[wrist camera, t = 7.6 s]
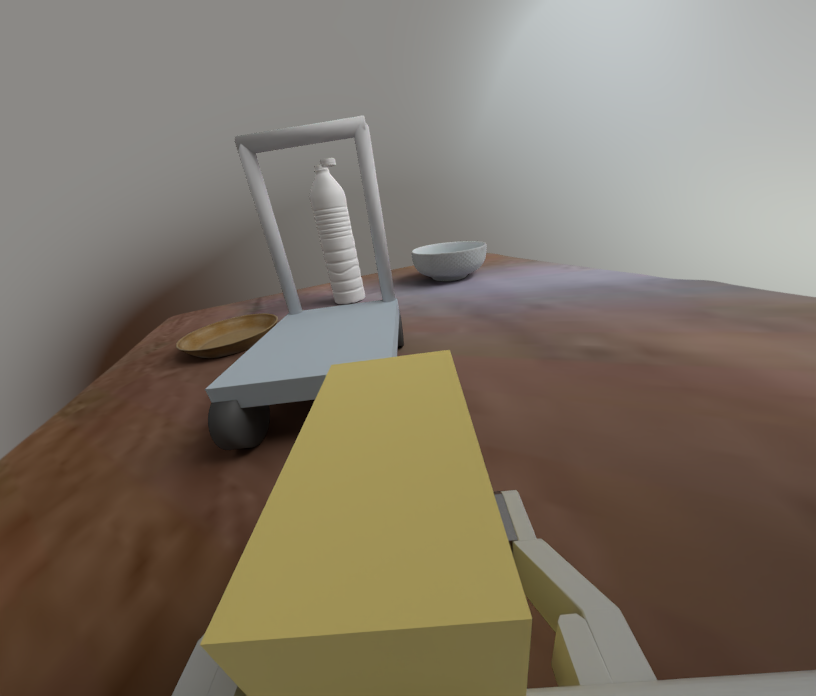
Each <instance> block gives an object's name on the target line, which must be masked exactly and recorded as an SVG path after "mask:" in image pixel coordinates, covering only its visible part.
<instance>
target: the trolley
mask: <svg viewBox="0 0 816 696" xmlns="http://www.w3.org/2000/svg"><path fill="white" fill-rule="evenodd" d="M353 137H354V138H355V144H356V150H357V156H358V161H359V167H360V173H361V179H362V184H363V189H364V196H365V202H366V207H367V213H368V218H369V224H370V230H371V235H372V241H373V248H374V253H375V259H376V265H377V270H378V276H379V282H380V288H381V294H382V299H383V300H379V301H371V302H364V303H356V304H349V305H341V306H333V307H326V308H318V309H311V310H303V311H302V308H301V304H300V301H299V298H298V294H297V291H296V287H295V284H294V281H293V277H292V274H291V271H290V267H289V264H288V261H287V258H286V254H285V251H284V247H283V244H282V241H281V237H280V234H279V230H278V227H277V224H276V220H275V217H274V214H273V210H272V207H271V203H270V200H269V197H268V194H267V190H266V187H265V183H264V180H263V177H262V173H261V170H260V167H259V163H258V160H257V156H256V153H260V152H266V151H272V150H278V149H285V148H291V147H297V146H303V145H310V144H316V143H322V142H328V141H335V140H341V139H347V138H353ZM235 143H236V147H237V150H238V153H239V157H240V160H241V163H242V166H243V169H244V172H245V175H246V179H247V182H248V184H249V188H250V191H251V194H252V197H253V201H254V204H255V207H256V210H257V213H258V216H259V219H260V223H261V226H262V229H263V232H264V235H265V238H266V241H267V244H268V248H269V251H270V254H271V257H272V260H273V263H274V267H275V270H276V273H277V276H278V279H279V282H280V285H281V289H282V292H283V295H284V298H285V301H286V304H287V307H288V311H289V313H288V314H287V315H286V316H285V317H284V318H283V319H282V320H281V321H280V322H279V323H277V324H276V325H275V326H274V327H273V328H272V329H271V330H270V331H269V332H268V333H266V334H265V335H264V336H263V337H262V338H261V339H260V340H259V341H258V342H257V343H255V344H254V345H253V346H252V347H251V348H250V349H249V350H248V351H247V352H246V353H244V354H243V355H242V356H241V357H240V358H239V359H238V360H237V361H236V362H235V363H233V364H232V365H231V366H230V367H229V368H228V369H227V370H226V371H225V372H224V373H222V374H221V375H220V376H219V377H218V378H217V379H216V380H215V381H214V382H213V383H211V384H210V385H209V386H208V387H207V388H206V389H205V390H206V392H207V394H208V396H209V398H210V400H211V402H212V403H211V406H210V409H209V415H208V426H209V432H210V435H211V437H212V439H213V441H214V443H215V444H216V445H217V446H218V447H219V448H221V449H224V450H232V449H242V448H251V447H256V446H258V445H259V444H260V443H261V442H262V441H263V439H264V438H265V436H266V434H267V431H268V427H269V420H270V411H269V405H272V404H280V403H289V402H297V401H306V400H314V399H316V397H317V394H318V392H319V390H320V388H321V386H322V384H323V382H324V380H325V377H326V375H327V373H328V371H329V369H330V367H331V365H334V364H342V363H350V362H358V361H366V360H373V359H381V358H389V357H397V347H398V346H403V345H404V340H403V330H402V322H401V316H400V310H399V307H398V301H397V298H395V293H394V287H393V280H392V274H391V267H390V261H389V254H388V248H387V242H386V235H385V230H384V222H383V216H382V209H381V203H380V197H379V190H378V184H377V177H376V171H375V164H374V158H373V152H372V146H371V139H370V132H369V125H368V124H366V122H365V118H364V116H358V117H351V118H345V119H339V120H333V121H327V122H321V123H314V124H308V125H302V126H296V127H290V128H284V129H278V130H272V131H266V132H260V133H254V134H247V135H241V136H236V137H235Z"/></svg>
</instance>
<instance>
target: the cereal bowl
mask: <svg viewBox="0 0 816 696" xmlns="http://www.w3.org/2000/svg"><path fill="white" fill-rule="evenodd" d="M485 256H486V243H484V242H478V241H464V242H463V241H461V242H448V243H440V244H432V245H427V246H423V247H419V248H416V249H414V250H413V251H412V260H413V263H414V266H415V268H416V269H417V270H418V271H419V272H420V273H421V274H423V275H425V276H428V277H432V278H433V279H434V280H436V281H454V280H459V279H462V278H465V277H466V276H467V275H468V274H469V273H472V272H474V271H476V270H477V269H478V268H479V267H480V266H481V265H482V264H483V262H484V260H485Z"/></svg>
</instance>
